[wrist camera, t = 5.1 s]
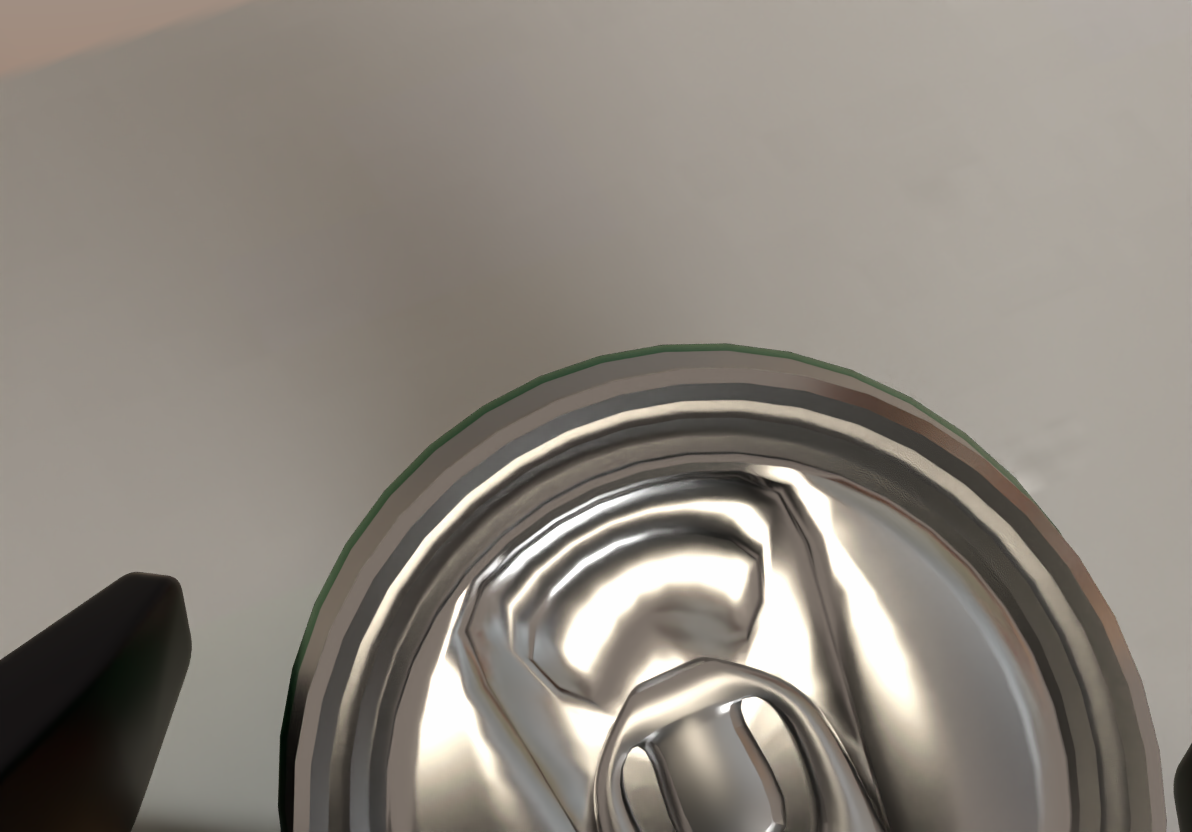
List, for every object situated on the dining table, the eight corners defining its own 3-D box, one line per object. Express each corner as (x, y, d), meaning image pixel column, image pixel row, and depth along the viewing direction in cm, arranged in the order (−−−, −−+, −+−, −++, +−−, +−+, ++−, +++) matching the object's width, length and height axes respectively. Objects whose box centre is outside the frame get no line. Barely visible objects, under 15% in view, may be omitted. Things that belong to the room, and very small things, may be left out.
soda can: (729, 454, 18) (959, 147, 6) (870, 758, 17) (1450, 1087, 5) (434, 583, 18) (71, 527, 6) (562, 899, 17) (445, 1585, 5)
